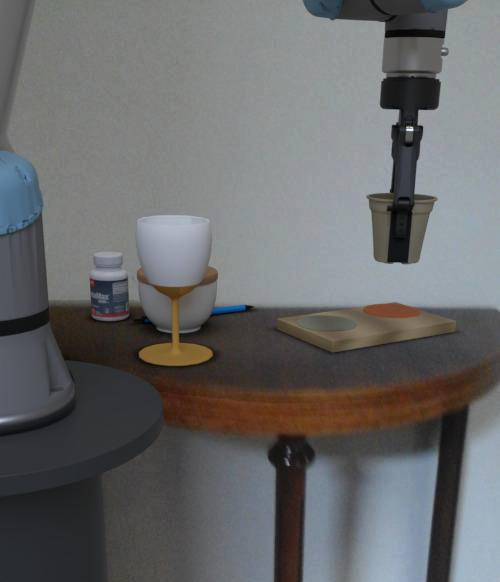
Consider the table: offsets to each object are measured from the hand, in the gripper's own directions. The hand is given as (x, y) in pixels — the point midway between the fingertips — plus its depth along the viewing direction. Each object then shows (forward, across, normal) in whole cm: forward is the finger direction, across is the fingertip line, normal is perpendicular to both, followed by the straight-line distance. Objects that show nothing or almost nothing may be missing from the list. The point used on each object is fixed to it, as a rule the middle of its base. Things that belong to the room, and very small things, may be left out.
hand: (396, 255), depth 115 cm
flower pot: (+1, 0, 0) cm, 1 cm away
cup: (+9, -22, +26) cm, 36 cm away
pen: (+9, -2, +28) cm, 30 cm away
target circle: (+8, 0, 0) cm, 8 cm away
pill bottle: (+9, -6, +39) cm, 41 cm away
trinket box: (+9, -9, +29) cm, 32 cm away
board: (+9, -6, +4) cm, 11 cm away
